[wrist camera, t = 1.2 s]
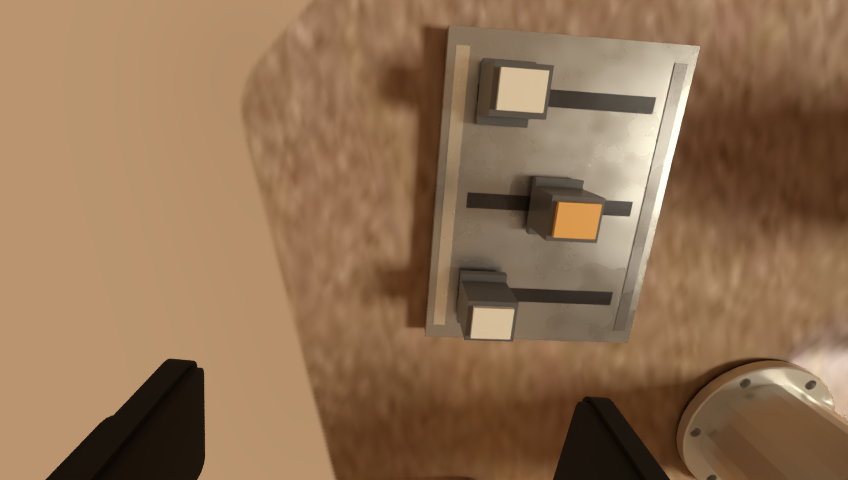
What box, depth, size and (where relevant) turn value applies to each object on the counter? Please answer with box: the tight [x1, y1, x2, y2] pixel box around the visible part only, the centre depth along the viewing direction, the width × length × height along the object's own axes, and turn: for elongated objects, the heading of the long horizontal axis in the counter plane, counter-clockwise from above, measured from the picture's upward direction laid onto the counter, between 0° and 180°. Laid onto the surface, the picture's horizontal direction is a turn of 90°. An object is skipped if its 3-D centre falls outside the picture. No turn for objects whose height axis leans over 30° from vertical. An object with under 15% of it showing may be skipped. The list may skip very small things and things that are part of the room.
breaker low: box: [476, 58, 554, 128], centre depth 22 cm, size 3×4×4 cm
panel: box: [425, 25, 700, 343], centre depth 27 cm, size 15×20×1 cm
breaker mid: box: [526, 177, 606, 243], centre depth 24 cm, size 3×4×4 cm
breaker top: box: [456, 270, 519, 341], centre depth 26 cm, size 3×4×4 cm
